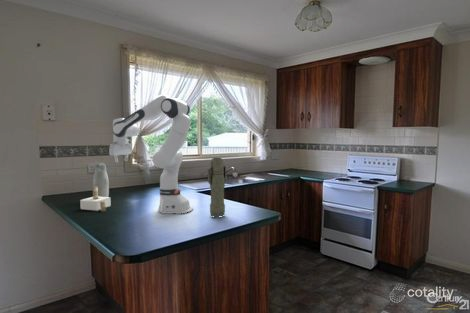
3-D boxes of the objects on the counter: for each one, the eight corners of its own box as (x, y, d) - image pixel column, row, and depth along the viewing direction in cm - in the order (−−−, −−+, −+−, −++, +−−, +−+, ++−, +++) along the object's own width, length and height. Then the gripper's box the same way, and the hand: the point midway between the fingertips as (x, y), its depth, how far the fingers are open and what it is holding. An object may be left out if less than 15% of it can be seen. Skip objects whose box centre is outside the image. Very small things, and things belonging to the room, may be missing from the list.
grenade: (205, 216, 174) (204, 158, 172) (220, 212, 182) (220, 157, 180) (214, 219, 168) (213, 159, 165) (229, 215, 176) (229, 157, 173)
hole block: (110, 205, 201) (110, 197, 200) (96, 210, 188) (96, 201, 188) (95, 204, 204) (94, 196, 204) (80, 209, 192) (80, 200, 191)
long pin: (99, 207, 197) (98, 186, 196) (96, 208, 194) (95, 187, 193) (95, 206, 198) (95, 186, 197) (92, 207, 195) (91, 187, 194)
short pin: (106, 210, 188) (106, 201, 188) (103, 211, 186) (103, 202, 185) (102, 210, 189) (102, 201, 189) (99, 211, 186) (99, 202, 186)
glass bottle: (91, 201, 213) (89, 163, 211) (100, 198, 223) (99, 162, 221) (102, 202, 210) (101, 164, 208) (111, 199, 220) (110, 162, 218)
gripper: (114, 141, 191) (115, 162, 192) (133, 141, 210) (134, 160, 211) (106, 142, 192) (107, 163, 193) (125, 141, 212) (126, 160, 213)
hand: (121, 161), depth 202 cm, fingers open, 8 cm apart
